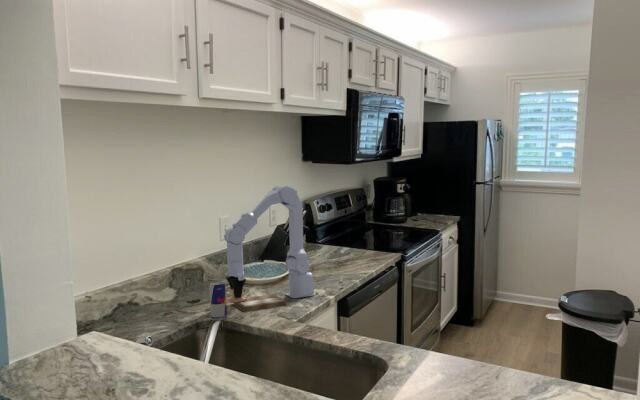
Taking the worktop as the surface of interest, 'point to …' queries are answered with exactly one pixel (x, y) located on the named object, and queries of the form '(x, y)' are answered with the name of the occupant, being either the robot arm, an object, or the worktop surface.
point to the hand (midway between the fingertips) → (236, 296)
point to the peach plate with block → (233, 299)
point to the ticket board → (260, 302)
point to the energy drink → (218, 301)
